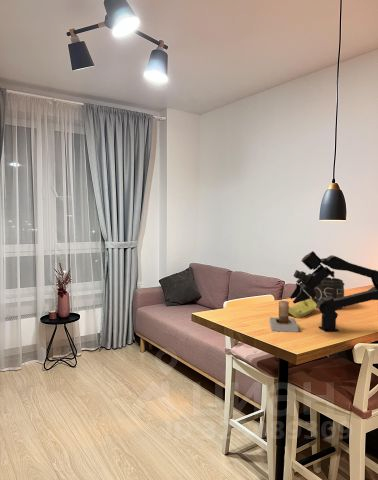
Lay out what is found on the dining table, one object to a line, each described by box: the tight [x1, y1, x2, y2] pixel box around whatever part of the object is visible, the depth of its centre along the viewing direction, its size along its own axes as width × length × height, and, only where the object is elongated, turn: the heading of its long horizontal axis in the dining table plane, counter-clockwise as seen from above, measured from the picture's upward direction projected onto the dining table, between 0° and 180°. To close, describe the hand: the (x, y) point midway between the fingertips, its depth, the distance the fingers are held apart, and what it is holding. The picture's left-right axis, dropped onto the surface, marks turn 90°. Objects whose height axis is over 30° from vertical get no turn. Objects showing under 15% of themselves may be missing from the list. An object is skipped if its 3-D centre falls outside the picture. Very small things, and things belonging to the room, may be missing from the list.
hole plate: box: [269, 317, 299, 333], centre depth 168 cm, size 12×12×3 cm
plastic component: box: [289, 299, 317, 319], centre depth 193 cm, size 20×7×10 cm
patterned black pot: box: [310, 276, 345, 311], centre depth 207 cm, size 18×18×16 cm
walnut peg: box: [278, 300, 290, 323], centre depth 168 cm, size 4×4×12 cm
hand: (292, 300), depth 167 cm, fingers open, 9 cm apart
